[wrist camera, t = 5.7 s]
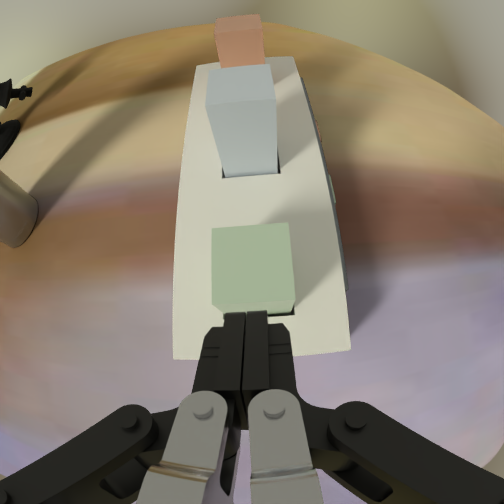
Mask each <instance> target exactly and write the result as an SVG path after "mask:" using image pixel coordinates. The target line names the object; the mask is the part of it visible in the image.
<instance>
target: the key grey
mask: <svg viewBox="0 0 504 504" xmlns="http://www.w3.org/2000/svg"><path fill="white" fill-rule="evenodd" d="M205 108H206V111H207V115H208V119H209V122H210V126H211V129H212V133H213V136H214V140H215V143H216V147H217V150H218V154H219V157H220V160H221V164H222V167H223V171H224V174H225V178H233V177H243V176H255V175H268V174H278V168H277V115H276V96H275V90H274V84H273V79H272V74H271V68H270V64H259V65H247V66H237V67H228V68H221V69H213V70H209V74H208V82H207V91H206V100H205Z"/></svg>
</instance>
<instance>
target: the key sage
mask: <svg viewBox="0 0 504 504" xmlns="http://www.w3.org/2000/svg"><path fill="white" fill-rule="evenodd" d="M211 281H212V305H213V306H215V307H216V308H217V309H219V310H220V311H221V312H223V313H224V314H225V313H228V312H246V314H247V311H261V310H267V314H268V317H277V316H289V315H290V313H291V310H292V307H293V305H294V302H295V300H296V299H295V287H294V276H293V265H292V254H291V244H290V234H289V225H288V223H273V224H260V225H247V226H234V227H222V228H212V239H211Z"/></svg>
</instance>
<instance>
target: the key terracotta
mask: <svg viewBox="0 0 504 504" xmlns="http://www.w3.org/2000/svg"><path fill="white" fill-rule="evenodd" d="M214 36H215V41H216V46H217V51H218V56H219V61H220V66H221V68H228V67H237V66H247V65H259V64H265V56H264V42H263V29H262V24H261V20H260V15H259V14H252V15H241V16H231V17H223V18H217V19H216V24H215V30H214Z"/></svg>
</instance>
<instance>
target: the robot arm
mask: <svg viewBox="0 0 504 504" xmlns="http://www.w3.org/2000/svg"><path fill="white" fill-rule="evenodd" d="M37 213H38V204H37V201H36V200H35V199H34V198H33V197H32V196H30V195H29V194H28V193H27V192H25V191H24V190H23V189H22V188H21V187H20V186H18V185H17V184H16V183H15V182H14V181H12V180H11V179H10V178H9V177H8V176H7V175H5V174H4V173H3V172H2V171H1V170H0V241H1V242H3V243H5V244H6V245H8V246H10V247H13V248H15V247H18V246H20V245H21V244H22V243H23V242H24V241H25V240H26V239H27V238H28V236H29V234H30V233H31V231H32V229H33V227H34V224H35V222H36V218H37ZM241 430H249V437H250V453H251V470H252V473H251V479H250V487H251V503H252V504H324V502H323V497H322V492H321V487H320V483H319V478H318V475H317V472H316V469H315V468H317V469H322V470H323V471H324V472H325V473H326V474H328V475H329V476H330V477H332V478H333V479H334V480H335V481H337V482H338V483H339V484H341V485H342V486H343V487H345V488H346V489H347V490H349V491H350V492H352V493H353V494H354V495H356V496H357V497H359V498H360V499H362V500H363V501H364V502H366V503H367V504H504V479H503V478H501V477H499V476H497V475H495V474H493V473H491V472H488V471H486V470H484V469H482V468H480V467H478V466H476V465H474V464H472V463H470V462H468V461H466V460H464V459H463V458H461V457H459V456H457V455H455V454H453V453H451V452H449V451H447V450H446V449H444V448H442V447H440V446H438V445H437V444H435V443H433V442H431V441H429V440H428V439H426V438H424V437H423V436H421V435H419V434H417V433H416V432H414V431H412V430H411V429H409V428H407V427H405V426H404V425H402V424H400V423H399V422H397V421H396V420H394V419H392V418H391V417H389V416H387V415H386V414H384V413H383V412H381V411H379V410H378V409H376V408H375V407H373V406H371V405H370V404H368V403H365V402H360V401H352V402H347V403H344V404H342V405H340V406H339V407H337V408H336V409H335V410H334V409H327V408H320V407H315V406H312V405H310V404H308V403H306V402H305V401H304V400H303V399H302V398H301V397H300V396H299V394H298V392H297V388H296V380H295V371H294V363H293V354H292V346H291V338H290V332H289V330H288V329H287V328H286V327H285V325H284V324H283V323H275V324H268V314H267V310H261V311H247V314H246V312H228V313H225V318H224V324H223V327H212V328H211V329H210V330H209V331H208V333H207V334H206V335H205V336H204V340H203V344H202V349H201V353H200V358H199V362H198V366H197V371H196V375H195V380H194V385H193V389H192V393H191V394H190V395H188V396H187V397H186V398H185V399H184V400H183V401H182V402H181V404H180V406H179V407H177V408H175V409H172V410H169V411H163V412H158V413H152V414H150V412H149V411H148V410H147V409H146V408H144V407H142V406H140V405H134V404H131V405H126V406H123V407H121V408H119V409H117V410H116V411H114V412H113V413H111V414H110V415H108V416H107V417H105V418H104V419H102V420H101V421H99V422H98V423H96V424H95V425H93V426H92V427H90V428H89V429H87V430H86V431H84V432H82V433H81V434H79V435H78V436H76V437H75V438H73V439H71V440H70V441H68V442H67V443H65V444H63V445H62V446H60V447H58V448H57V449H55V450H54V451H52V452H50V453H49V454H47V455H45V456H43V457H42V458H40V459H38V460H37V461H35V462H33V463H32V464H30V465H28V466H26V467H24V468H23V469H21V470H19V471H17V472H16V473H14V474H12V475H10V476H8V477H6V478H5V479H3V480H1V481H0V504H132V503H133V502H135V501H136V500H137V502H136V504H234V503H233V495H234V488H235V482H236V475H237V469H238V462H239V455H240V437H241Z"/></svg>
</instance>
